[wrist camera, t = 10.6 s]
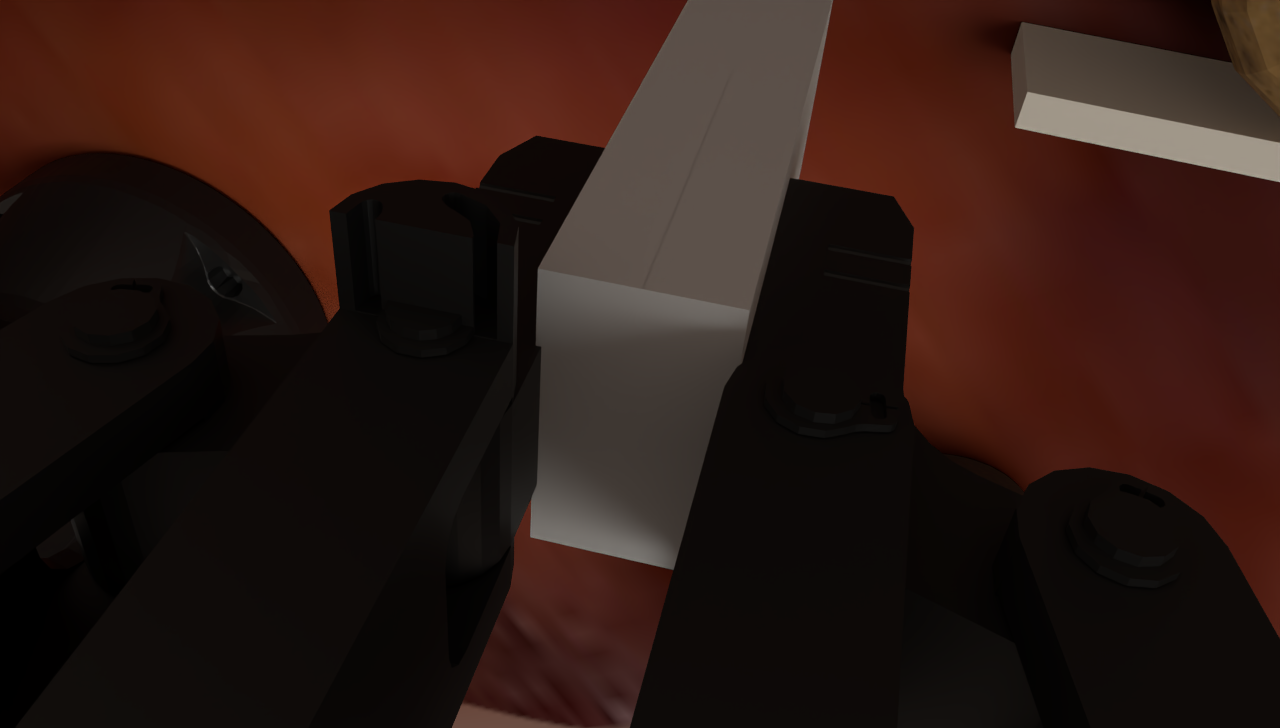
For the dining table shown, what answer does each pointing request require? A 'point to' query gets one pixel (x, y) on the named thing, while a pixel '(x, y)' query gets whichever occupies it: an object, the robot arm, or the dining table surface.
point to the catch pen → (1142, 101)
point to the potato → (1253, 43)
